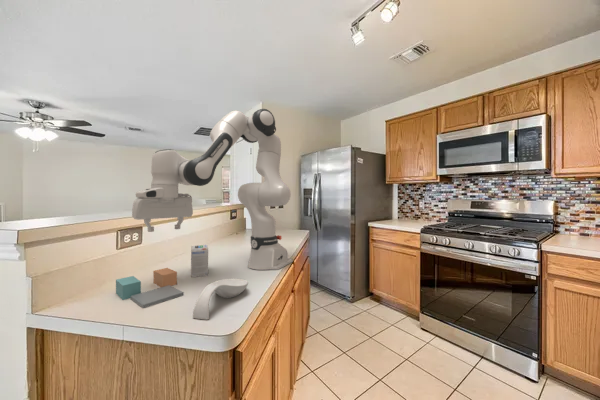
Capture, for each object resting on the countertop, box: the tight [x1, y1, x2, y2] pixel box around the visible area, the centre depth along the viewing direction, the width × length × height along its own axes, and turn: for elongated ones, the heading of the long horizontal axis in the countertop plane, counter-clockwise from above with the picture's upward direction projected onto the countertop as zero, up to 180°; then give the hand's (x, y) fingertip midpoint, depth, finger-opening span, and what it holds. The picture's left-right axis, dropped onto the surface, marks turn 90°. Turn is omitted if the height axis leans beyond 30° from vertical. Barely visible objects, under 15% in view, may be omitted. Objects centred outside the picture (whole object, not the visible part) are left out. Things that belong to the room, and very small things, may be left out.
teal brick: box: [115, 275, 142, 301], centre depth 82 cm, size 5×8×5 cm, turn 49°
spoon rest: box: [192, 278, 249, 320], centre depth 77 cm, size 24×12×7 cm, turn 171°
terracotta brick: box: [152, 267, 178, 288], centre depth 92 cm, size 5×8×5 cm, turn 51°
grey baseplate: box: [129, 285, 185, 309], centre depth 80 cm, size 12×10×1 cm
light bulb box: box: [190, 244, 209, 278], centre depth 105 cm, size 11×7×11 cm, turn 23°
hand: (164, 230), depth 91 cm, fingers open, 8 cm apart
